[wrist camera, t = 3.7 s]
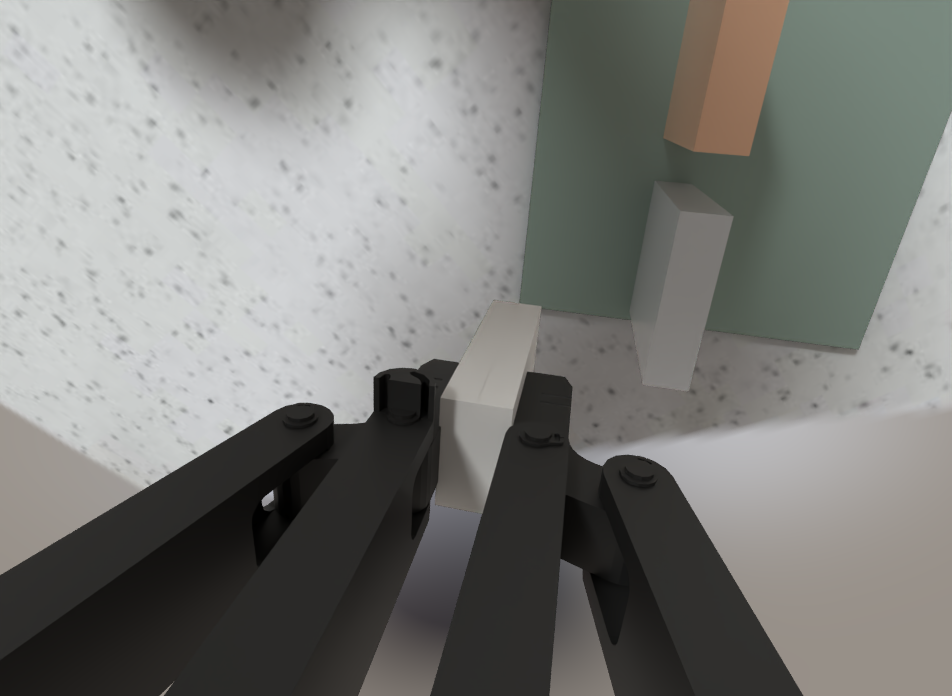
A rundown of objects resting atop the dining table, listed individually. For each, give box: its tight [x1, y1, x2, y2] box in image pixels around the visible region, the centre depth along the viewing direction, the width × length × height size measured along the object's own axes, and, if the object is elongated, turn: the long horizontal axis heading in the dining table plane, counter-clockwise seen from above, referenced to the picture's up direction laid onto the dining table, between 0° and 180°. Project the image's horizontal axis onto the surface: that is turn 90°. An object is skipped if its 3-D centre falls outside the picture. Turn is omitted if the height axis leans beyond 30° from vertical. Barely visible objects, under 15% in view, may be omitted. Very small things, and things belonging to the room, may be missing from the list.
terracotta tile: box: [663, 0, 789, 156], centre depth 21 cm, size 2×7×9 cm, turn 176°
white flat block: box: [629, 181, 734, 392], centre depth 25 cm, size 2×7×9 cm, turn 176°
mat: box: [520, 0, 952, 350], centre depth 27 cm, size 18×17×1 cm
